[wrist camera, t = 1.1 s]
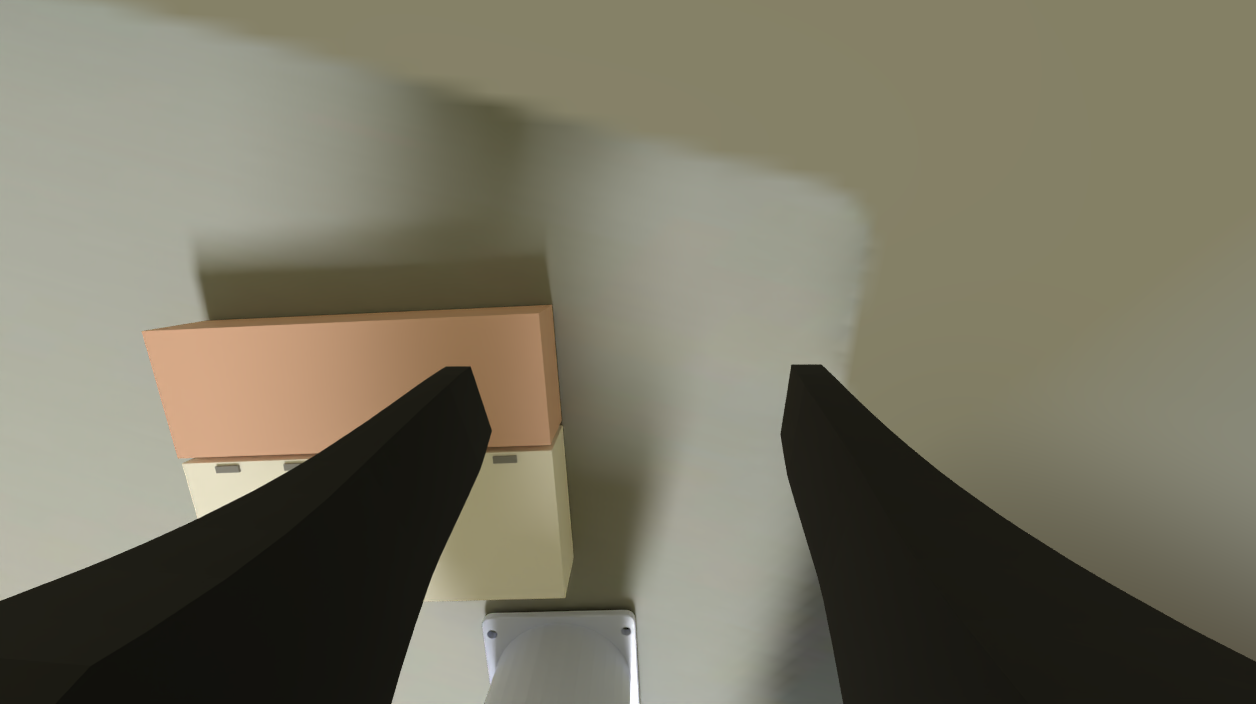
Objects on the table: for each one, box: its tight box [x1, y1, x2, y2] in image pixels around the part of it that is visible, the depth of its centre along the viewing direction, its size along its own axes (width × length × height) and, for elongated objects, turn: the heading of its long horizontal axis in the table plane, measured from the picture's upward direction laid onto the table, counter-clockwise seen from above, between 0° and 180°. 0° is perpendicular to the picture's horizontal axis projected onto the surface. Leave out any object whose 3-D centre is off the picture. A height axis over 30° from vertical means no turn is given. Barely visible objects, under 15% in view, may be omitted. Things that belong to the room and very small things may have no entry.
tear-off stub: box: [142, 305, 562, 458], centre depth 20 cm, size 6×16×3 cm, turn 93°
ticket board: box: [182, 425, 574, 602], centre depth 21 cm, size 7×16×3 cm, turn 93°
